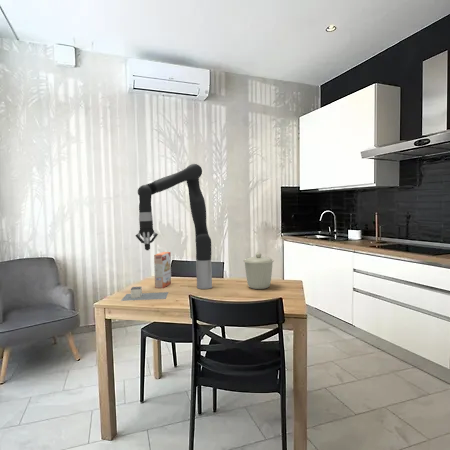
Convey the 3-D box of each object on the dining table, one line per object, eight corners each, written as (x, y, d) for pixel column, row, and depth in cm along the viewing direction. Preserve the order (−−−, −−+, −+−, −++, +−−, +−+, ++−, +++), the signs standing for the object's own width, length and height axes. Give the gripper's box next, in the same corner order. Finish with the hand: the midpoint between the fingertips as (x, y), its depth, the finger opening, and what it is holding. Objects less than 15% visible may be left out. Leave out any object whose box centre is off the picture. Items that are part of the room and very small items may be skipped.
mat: (168, 292, 192) (168, 292, 192) (165, 299, 178) (165, 298, 178) (126, 294, 190) (126, 293, 190) (120, 301, 176) (120, 300, 176)
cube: (132, 286, 186) (132, 295, 186) (130, 289, 181) (131, 298, 181) (141, 286, 186) (141, 295, 186) (139, 288, 181) (140, 297, 181)
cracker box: (163, 288, 202) (162, 254, 201) (154, 288, 203) (153, 254, 202) (171, 283, 216) (170, 251, 215) (163, 283, 217) (162, 251, 216)
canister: (270, 292, 188) (270, 255, 187) (240, 290, 194) (239, 254, 193) (276, 284, 205) (276, 251, 204) (248, 283, 211) (247, 250, 210)
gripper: (158, 219, 193) (159, 248, 194) (135, 220, 192) (137, 249, 193) (156, 220, 186) (158, 250, 187) (132, 221, 185) (134, 251, 186)
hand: (147, 250), depth 190 cm, fingers closed
